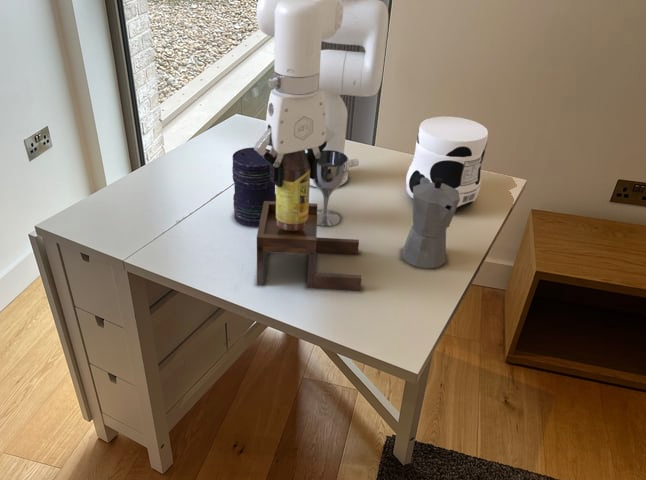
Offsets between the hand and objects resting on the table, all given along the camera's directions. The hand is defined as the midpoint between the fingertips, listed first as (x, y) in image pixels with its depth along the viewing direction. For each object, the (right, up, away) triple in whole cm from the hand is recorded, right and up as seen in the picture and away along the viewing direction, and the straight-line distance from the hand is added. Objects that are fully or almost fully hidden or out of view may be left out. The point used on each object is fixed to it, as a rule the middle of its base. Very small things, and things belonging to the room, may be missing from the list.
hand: (293, 179), depth 108 cm
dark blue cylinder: (-8, -4, +28) cm, 29 cm away
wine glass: (+8, -4, +28) cm, 29 cm away
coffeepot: (+28, -13, +16) cm, 34 cm away
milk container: (+37, +2, +36) cm, 51 cm away
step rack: (+4, -16, +11) cm, 20 cm away
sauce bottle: (0, -8, +6) cm, 10 cm away
